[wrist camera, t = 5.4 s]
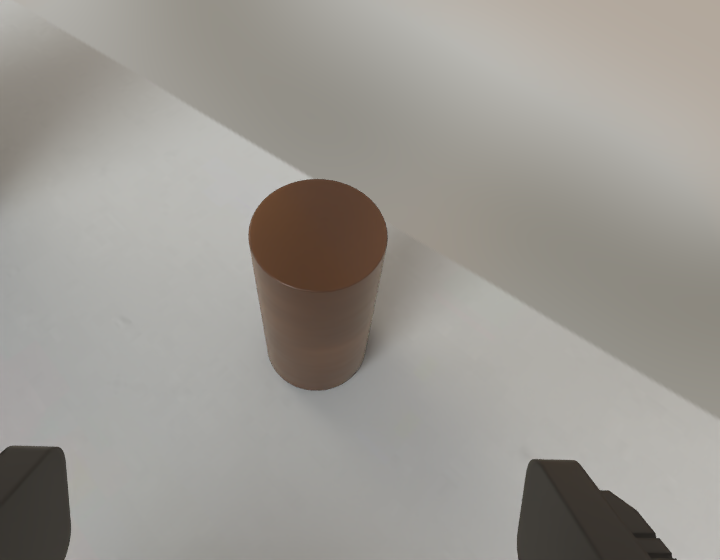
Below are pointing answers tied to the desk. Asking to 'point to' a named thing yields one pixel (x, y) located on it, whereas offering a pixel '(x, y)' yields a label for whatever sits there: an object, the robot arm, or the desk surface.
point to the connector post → (317, 278)
